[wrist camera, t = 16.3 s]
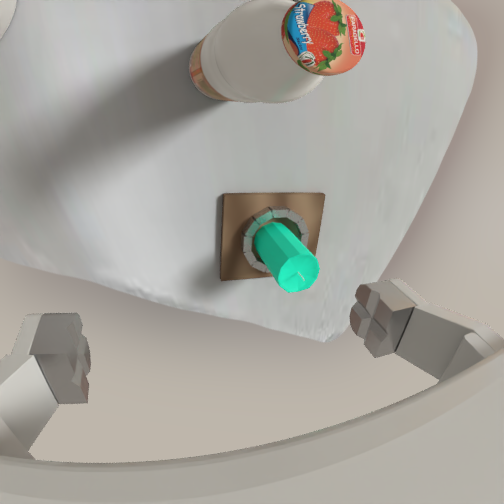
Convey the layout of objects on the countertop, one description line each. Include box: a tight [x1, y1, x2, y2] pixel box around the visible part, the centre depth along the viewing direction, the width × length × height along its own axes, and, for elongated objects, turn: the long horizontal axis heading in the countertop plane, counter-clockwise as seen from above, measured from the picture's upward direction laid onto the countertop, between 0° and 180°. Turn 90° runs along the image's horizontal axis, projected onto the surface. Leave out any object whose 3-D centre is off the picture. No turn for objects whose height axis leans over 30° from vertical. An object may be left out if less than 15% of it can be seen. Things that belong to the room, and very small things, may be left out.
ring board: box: [220, 193, 325, 281], centre depth 51 cm, size 16×14×1 cm
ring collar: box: [241, 206, 309, 273], centre depth 50 cm, size 10×10×2 cm
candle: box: [254, 222, 320, 293], centre depth 46 cm, size 6×6×12 cm
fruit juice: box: [189, 0, 365, 103], centre depth 26 cm, size 9×9×28 cm
